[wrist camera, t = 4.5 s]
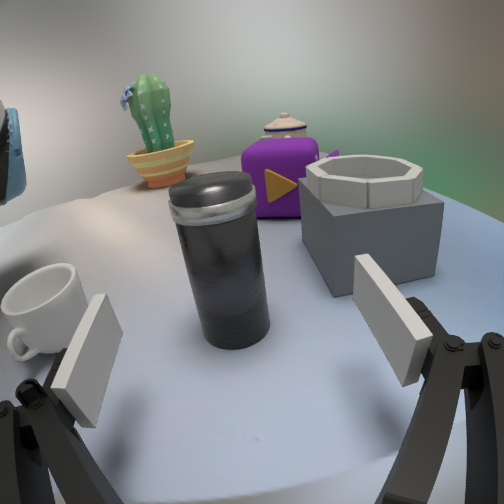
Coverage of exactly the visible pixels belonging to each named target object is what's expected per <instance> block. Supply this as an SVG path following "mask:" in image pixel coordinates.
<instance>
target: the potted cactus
mask: <svg viewBox="0 0 504 504" xmlns="http://www.w3.org/2000/svg"><path fill="white" fill-rule="evenodd" d="M128 86H129V87H128ZM126 102H128V103H129V107H130V111H131V115H132V117H133V118H134V120H135V121H136V123H137V124H138V126H139V128H140V132H141V134H142V137H143V140H144V143H145V145H146V148H145V149H142V150H139V151H136V152H134V153H131V154H129V155H128V156H127V159H128V161H129V163H132V164H133V165H134V167H135V169H136V170H137V172H138V174H139V175H141V176H142V177H143V178H144V179H145V180H146V181H147V182H148V187H149V188H161V187H166V186H170V185H173V184H176V183H179V182H181V181H183V180H185V179H186V176H185V170H186V168H187V166H188V163H189V158H190V152H191V150H192V149H193V145H194V144H193V143H194V140H184V141H177V142H174V138H173V133H172V129H171V124H170V119H169V116H170V115H169V114H170V108H171V103H170V93H169V88H168V86H167V85H166V84H165V82H164V81H162V80H161V79H160V78H159V77H158V76H157V75H156V74H152V73H150V74H149V75H147V76H145V75H141V76H140V78H137V77H136V79H135V81H134V83H132V84H128V85H127V86H126V87H125V90H124V92H123V95H122V99H121V102H120V103H121V106H122V107H123V109H124V111H126V110H127V105H126Z"/></svg>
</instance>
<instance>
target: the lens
mask: <svg viewBox="0 0 504 504" xmlns="http://www.w3.org/2000/svg"><path fill="white" fill-rule="evenodd" d="M169 196H170V200H169V202H168V203H169V208H170V212H171V216H172V220H173V221H174V222H175V223H176V227H177V231H178V236H179V240H180V244H181V248H182V252H183V256H184V260H185V264H186V268H187V272H188V276H189V280H190V284H191V288H192V292H193V295H194V299H195V303H196V306H197V310H198V314H199V317H200V321H201V324H202V328H203V331H204V335H205V337H206V339H207V340H208V342H210V343H211V344H212V345H214V346H216V347H219V348H223V349H240V348H245V347H248V346H251V345H253V344H255V343H257V342H258V341H260V340H261V339H262V338H263V337H264V336H265V335H266V334H267V332H268V330H269V327H270V321H269V313H268V305H267V297H266V289H265V281H264V273H263V265H262V257H261V249H260V241H259V234H258V226H257V218H256V211H255V207H256V206H257V199H256V191H255V186H254V185H253V184H252V180H251V175H250V174H248V173H245V172H238V171H226V172H216V173H209V174H204V175H200V176H196V177H192V178H189V179H186V180H183V181H181V182H179V183H177V184H175V185H173V186H172V187H171V188H170V189H169Z"/></svg>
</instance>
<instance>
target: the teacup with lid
mask: <svg viewBox="0 0 504 504" xmlns="http://www.w3.org/2000/svg"><path fill="white" fill-rule="evenodd" d="M279 117H280V118H278V119H275V120H274V121H273V122H272V123H270V124H268V125H266V126H265V129H264V131H265V134H266V136H267V135H271V136H273V139H277V138H295V137H307V136H306V127H307V126H306V124H305V123H304V122H300V121H298V120H296V119H294V118H291V117H289V114H288V113H280V114H279Z"/></svg>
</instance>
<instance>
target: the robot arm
mask: <svg viewBox="0 0 504 504" xmlns="http://www.w3.org/2000/svg"><path fill="white" fill-rule="evenodd" d="M25 187H26V173H25V166H24V159H23V153H22V145H21V136H20V127H19V119H18V112H17V110H16V109H15V108H7V109H4V106H3V104H2V102H1V100H0V206H1V205H5V204H6V203H7V202H8V201H9V200H11V199H13V198H15V197H17V196H19V195H21V194H22V193H23V192H24V190H25ZM353 300H354V302H355V304H356V305H357V307H358V309H359V310H360V312H361V314H362V316H363V317H364V319H365V321H366V322H367V324H368V326H369V328H370V329H371V331H372V333H373V335H374V336H375V338H376V340H377V342H378V343H379V345H380V347H381V349H382V351H383V352H384V354H385V356H386V358H387V360H388V361H389V363H390V365H391V367H392V369H393V370H394V372H395V374H396V376H397V378H398V380H399V382H400V383H401V385H402V387H404V386H407V385H410V384H413V383H416V382H418V380H419V377H420V374H422V375H423V377H424V379H425V381H424V383H423V386H422V388H421V391H420V393H419V395H420V396H419V399H418V402H417V405H416V408H415V411H414V414H413V417H412V419H411V422H410V425H409V428H408V430H407V433H406V435H405V438H404V440H403V443H402V445H401V448H400V450H399V453H398V455H397V458H396V460H395V462H394V464H393V467H392V469H391V471H390V473H389V475H388V478H387V480H386V482H385V484H384V486H383V488H382V490H381V492H380V494H379V496H378V498H377V500H376V502H375V504H427V502H428V499H429V497H430V494H431V492H432V489H433V486H434V484H435V481H436V478H437V475H438V472H439V469H440V466H441V463H442V460H443V457H444V454H445V451H446V447H447V443H448V440H449V437H450V433H451V429H452V425H453V421H454V417H455V413H456V408H457V404H458V399H459V394H460V389H464V396H465V409H466V430H467V472H466V492H465V504H504V337H503V336H502V335H500V334H498V333H494V332H490V333H486V334H485V335H484V336H483V337H482V340H481V342H475V343H465V342H464V340H463V339H461V338H460V337H458V336H455V335H449V334H448V333H447V332H446V330H445V329H444V328H443V327H442V325H441V324H440V323H439V322H438V320H437V319H436V318H435V317H434V316H433V314H432V313H431V312H430V310H428V308H427V307H426V306H425V304H424V303H423V302H422V301H420V300H418V299H417V298H415V297H410V298H406V299H405V298H404V297H403V295H402V294H401V293H400V292H399V290H398V289H397V288H396V287H395V285H394V284H393V283H392V282H391V280H390V279H389V278H388V277H387V276H386V274H385V273H384V272H383V271H382V269H381V268H380V267H379V266H378V265H377V263H376V262H375V261H374V260H373V259H372V258H371V256H370V255H369V254H362V255H356V256H355V264H354V285H353ZM122 335H123V331H122V329H121V327H120V325H119V322H118V320H117V318H116V315H115V313H114V311H113V308H112V306H111V304H110V301H109V299H108V296H107V294H106V293H105V294H97V295H94V296H93V298H92V300H91V302H90V304H89V306H88V308H87V310H86V312H85V314H84V316H83V318H82V320H81V322H80V324H79V326H78V328H77V330H76V332H75V334H74V336H73V338H72V340H71V342H70V345H69V347H68V348H63V349H62V350H61V351H60V352H59V353H58V355H57V356H56V358H55V360H54V362H53V365H52V367H51V369H50V371H49V373H48V376H47V378H46V380H45V382H44V385H43V387H41V385H40V384H39V383H38V381H37V380H35V379H27V380H25V381H23V382H22V383H20V385H19V386H18V387H17V389H16V392H15V396H16V398H17V399H18V400H19V401H20V403H21V404H22V406H18V407H14V405H13V404H12V403H11V402H10V401H7V400H5V401H2V402H0V504H55V500H54V495H53V491H52V486H51V482H50V477H49V471H48V468H49V470H50V472H51V474H52V476H53V478H54V480H55V483H56V485H57V487H58V489H59V491H60V493H61V494H62V496H63V498H64V500H65V502H66V504H124V503H123V502H122V501H121V499H120V498H119V496H118V495H117V494H116V492H115V491H114V489H113V488H112V487H111V485H110V484H109V482H108V481H107V479H106V478H105V476H104V475H103V473H102V472H101V470H100V469H99V467H98V465H97V464H96V462H95V461H94V459H93V457H92V456H91V454H90V452H89V451H88V449H87V447H86V446H85V444H84V442H83V440H82V439H81V437H80V435H79V433H78V432H77V430H76V429H75V428H74V427H73V426H74V423H75V420H76V421H77V422H78V424H79V425H80V426H81V427H85V428H96V425H97V421H98V417H99V413H100V409H101V406H102V402H103V398H104V395H105V391H106V387H107V384H108V380H109V377H110V373H111V370H112V367H113V363H114V360H115V357H116V354H117V350H118V347H119V344H120V341H121V338H122ZM47 465H48V466H47Z"/></svg>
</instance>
